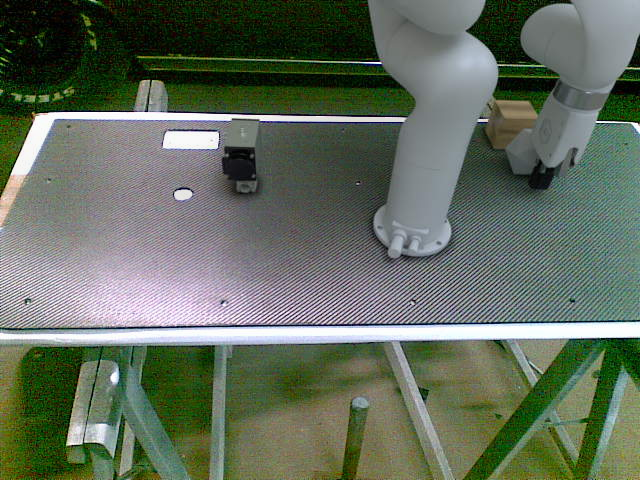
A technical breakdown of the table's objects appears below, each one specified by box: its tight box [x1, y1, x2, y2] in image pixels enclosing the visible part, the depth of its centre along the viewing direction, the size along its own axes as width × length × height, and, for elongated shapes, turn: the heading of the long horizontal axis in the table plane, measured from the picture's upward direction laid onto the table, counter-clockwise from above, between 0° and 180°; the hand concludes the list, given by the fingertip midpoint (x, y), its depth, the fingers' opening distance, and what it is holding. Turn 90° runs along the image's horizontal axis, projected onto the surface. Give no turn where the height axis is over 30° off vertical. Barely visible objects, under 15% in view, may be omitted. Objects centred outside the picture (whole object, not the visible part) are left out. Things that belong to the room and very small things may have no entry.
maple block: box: [484, 99, 539, 150], centre depth 96 cm, size 7×7×7 cm
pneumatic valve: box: [220, 117, 262, 194], centre depth 80 cm, size 6×12×12 cm, turn 0°
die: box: [504, 129, 538, 176], centre depth 88 cm, size 8×9×10 cm
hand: (537, 186), depth 85 cm, fingers closed
